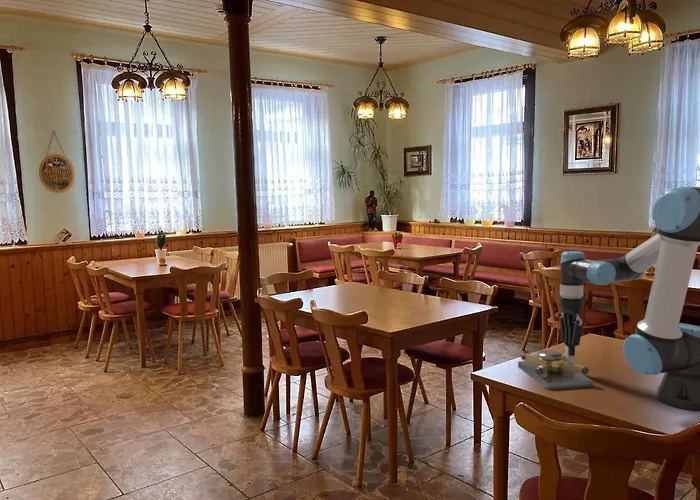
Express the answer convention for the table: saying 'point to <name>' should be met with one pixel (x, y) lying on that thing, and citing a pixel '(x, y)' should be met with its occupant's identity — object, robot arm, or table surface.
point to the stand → (555, 377)
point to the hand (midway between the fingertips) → (569, 364)
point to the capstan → (553, 362)
